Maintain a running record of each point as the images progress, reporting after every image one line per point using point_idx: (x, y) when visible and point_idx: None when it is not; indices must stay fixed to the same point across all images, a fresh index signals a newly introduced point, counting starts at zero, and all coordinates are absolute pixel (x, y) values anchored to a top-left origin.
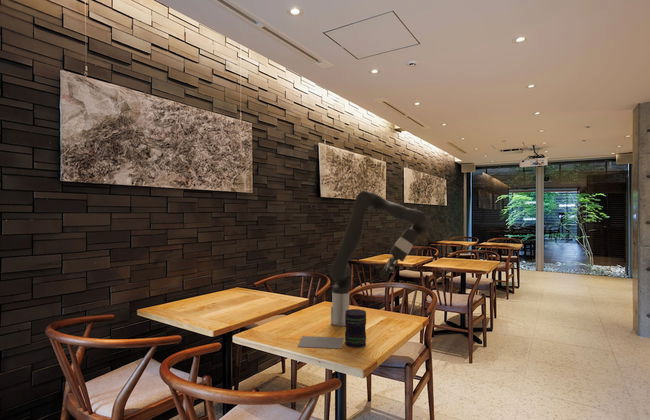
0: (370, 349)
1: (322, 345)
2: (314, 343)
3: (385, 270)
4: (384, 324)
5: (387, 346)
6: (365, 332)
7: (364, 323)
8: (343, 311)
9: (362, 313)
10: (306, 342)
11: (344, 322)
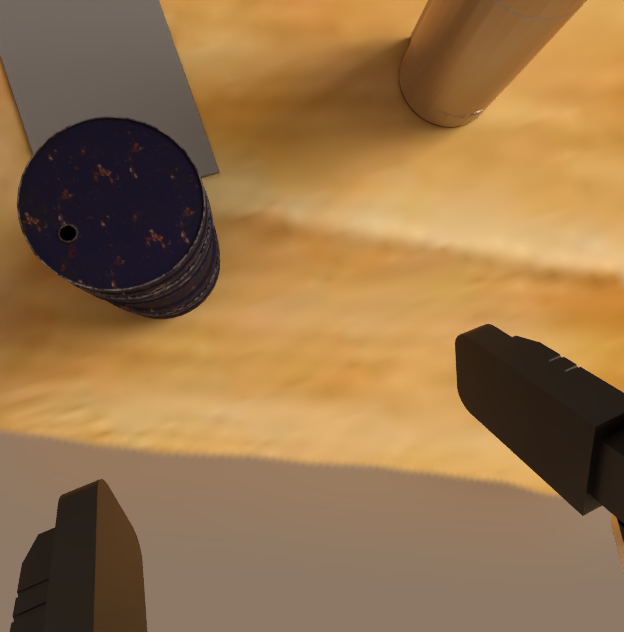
0: (116, 362)
1: (51, 110)
2: (63, 62)
3: (576, 461)
4: (548, 313)
5: (202, 433)
6: (166, 305)
7: (112, 300)
8: (445, 56)
9: (99, 267)
10: (59, 18)
11: (423, 104)
